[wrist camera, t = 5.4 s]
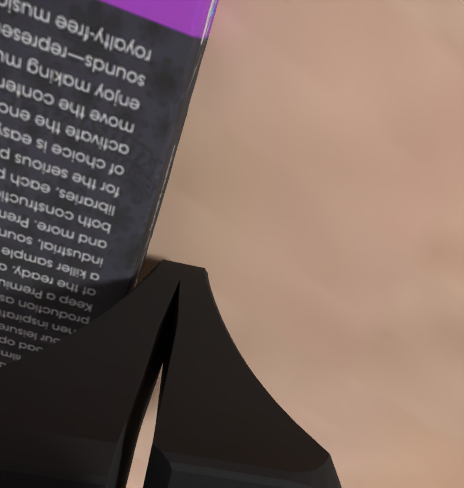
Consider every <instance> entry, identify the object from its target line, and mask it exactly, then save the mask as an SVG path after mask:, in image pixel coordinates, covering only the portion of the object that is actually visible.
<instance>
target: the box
mask: <svg viewBox="0 0 464 488" xmlns="http://www.w3.org/2000/svg"><path fill="white" fill-rule="evenodd" d="M217 4H218V0H0V367H1V366H4V365H6V364H9V363H11V362H14V361H16V360H19V359H21V358H24V357H26V356H28V355H30V354H33V353H35V352H37V351H39V350H42V349H44V348H46V347H48V346H50V345H52V344H53V343H55V342H57V341H59V340H61V339H63V338H65V337H66V336H68V335H70V334H72V333H74V332H75V331H77V330H79V329H80V328H82V327H84V326H85V325H87V324H88V323H90V322H91V321H93V320H94V319H96V318H97V317H99V316H100V315H102V314H103V313H104V312H106V311H107V310H108V309H110V308H111V307H112V306H114V305H115V304H116V303H117V302H119V301H120V300H121V299H123V298H124V297H125V296H126V295H127V294H128V293H130V292H131V291H132V290H133V289H134V288H135V287H136V286H137V285H138V282H139V278H140V275H141V272H142V268H143V265H144V261H145V258H146V254H147V250H148V246H149V242H150V239H151V237H152V234H153V230H154V227H155V223H156V221H157V217H158V214H159V210H160V206H161V203H162V200H163V196H164V193H165V189H166V186H167V183H168V179H169V176H170V172H171V168H172V165H173V161H174V157H175V153H176V150H177V146H178V143H179V140H180V136H181V133H182V129H183V126H184V122H185V119H186V116H187V111H188V106H189V103H190V99H191V96H192V93H193V89H194V86H195V83H196V79H197V75H198V71H199V67H200V64H201V60H202V57H203V54H204V51H205V47H206V44H207V40H208V37H209V33H210V29H211V26H212V22H213V18H214V15H215V11H216V8H217Z"/></svg>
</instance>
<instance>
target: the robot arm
mask: <svg viewBox="0 0 464 488" xmlns="http://www.w3.org/2000/svg"><path fill="white" fill-rule="evenodd" d="M162 364H163V368H162V377H161V385H160V393H159V401H158V410H157V418H156V426H155V432H154V438H153V443H152V448H151V452H150V457H149V462H148V466H147V471H146V476H145V481H144V485H143V488H341V484H340V481H339V478H338V476H337V473H336V470H335V467H334V464H333V462H332V459H331V456H330V454H329V453H328V452H327V451H326V450H325V449H324V448H323V447H322V446H320V445H319V444H318V443H317V442H316V441H315V440H314V439H313V438H312V437H311V436H310V435H308V434H307V433H306V432H305V431H304V430H303V429H302V428H301V427H300V426H299V425H298V424H296V423H295V422H294V421H293V420H292V418H291V417H290V416H289V415H288V414H287V413H286V412H285V411H284V410H283V409H282V408H281V407H280V406H279V405H278V404H277V402H276V401H275V400H274V399H273V398H272V397H271V395H270V394H269V393H268V392H267V390H266V389H265V388H264V387H263V385H262V384H261V383H260V382H259V380H258V379H257V378H256V377H255V375H254V374H253V372H252V371H251V369H250V368H249V367H248V365H247V364H246V362H245V361H244V359H243V357H242V356H241V354H240V353H239V351H238V349H237V347H236V346H235V344H234V342H233V340H232V338H231V336H230V334H229V332H228V330H227V328H226V326H225V324H224V322H223V320H222V318H221V315H220V313H219V310H218V308H217V305H216V303H215V300H214V297H213V294H212V291H211V287H210V284H209V279H208V273H207V271H206V270H205V268H201V267H196V266H191V265H187V264H182V263H177V262H172V261H167V260H162V261H161V262H159V263H158V264H157V266H156V267H155V268H154V269H153V270H152V271H151V272H150V273H149V275H148V276H147V277H146V278H145V279H144V280H143V281H142V282H141V283H139V284H138V285H137V286H136V287H135V288H134V289H133V290H132V291H131V292H130V293H128V294H127V295H126V296H125V297H124V298H123V299H121V300H120V301H119V302H117V303H116V304H115V305H114V306H112V307H111V308H110V309H108V310H107V311H106V312H104V313H103V314H102V315H100V316H99V317H97V318H96V319H94V320H93V321H91V322H90V323H88V324H87V325H85V326H84V327H82V328H80V329H79V330H77V331H75V332H74V333H72V334H70V335H68V336H66V337H65V338H63V339H61V340H59V341H57V342H55V343H53V344H52V345H50V346H48V347H46V348H44V349H42V350H39V351H37V352H35V353H33V354H30V355H28V356H26V357H24V358H21V359H19V360H16V361H14V362H11V363H9V364H6V365H4V366H1V367H0V488H126V484H127V480H128V476H129V472H130V468H131V464H132V459H133V455H134V451H135V447H136V443H137V439H138V435H139V432H140V429H141V425H142V422H143V419H144V416H145V413H146V410H147V407H148V404H149V402H150V399H151V396H152V393H153V390H154V387H155V384H156V381H157V378H158V375H159V372H160V369H161V366H162Z"/></svg>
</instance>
